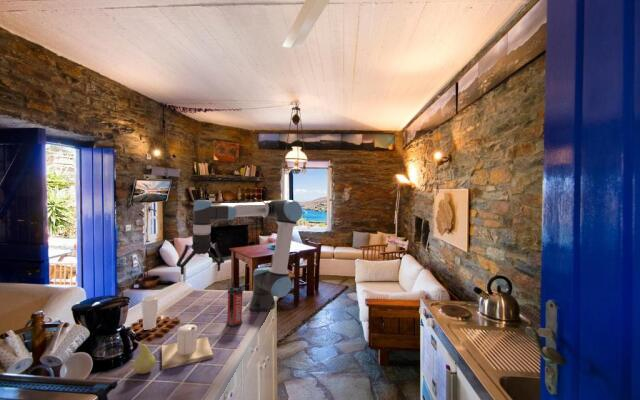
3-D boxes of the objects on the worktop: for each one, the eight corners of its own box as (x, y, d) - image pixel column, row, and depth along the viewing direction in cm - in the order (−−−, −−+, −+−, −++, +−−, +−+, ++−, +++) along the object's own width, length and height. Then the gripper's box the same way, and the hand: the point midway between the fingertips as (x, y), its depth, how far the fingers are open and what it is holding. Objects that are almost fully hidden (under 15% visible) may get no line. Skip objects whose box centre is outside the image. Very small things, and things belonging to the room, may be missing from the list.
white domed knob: (173, 353, 117) (173, 329, 117) (185, 344, 124) (185, 321, 124) (188, 355, 115) (189, 331, 115) (199, 346, 123) (200, 323, 122)
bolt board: (206, 340, 131) (207, 323, 131) (212, 358, 117) (213, 339, 117) (161, 349, 122) (162, 331, 122) (162, 369, 108) (162, 349, 108)
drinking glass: (159, 329, 140) (160, 298, 140) (143, 333, 135) (144, 301, 135) (154, 324, 145) (155, 294, 145) (139, 328, 140) (140, 297, 140)
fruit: (149, 378, 103) (150, 344, 103) (127, 378, 103) (128, 344, 103) (158, 367, 110) (159, 335, 110) (137, 367, 109) (138, 335, 109)
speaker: (237, 319, 154) (238, 285, 154) (245, 324, 149) (246, 289, 149) (223, 323, 149) (225, 288, 149) (231, 328, 143) (232, 292, 143)
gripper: (228, 231, 142) (226, 275, 142) (171, 233, 130) (169, 280, 130) (231, 233, 135) (230, 279, 136) (171, 235, 123) (170, 285, 123)
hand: (200, 279), depth 133 cm, fingers open, 13 cm apart
